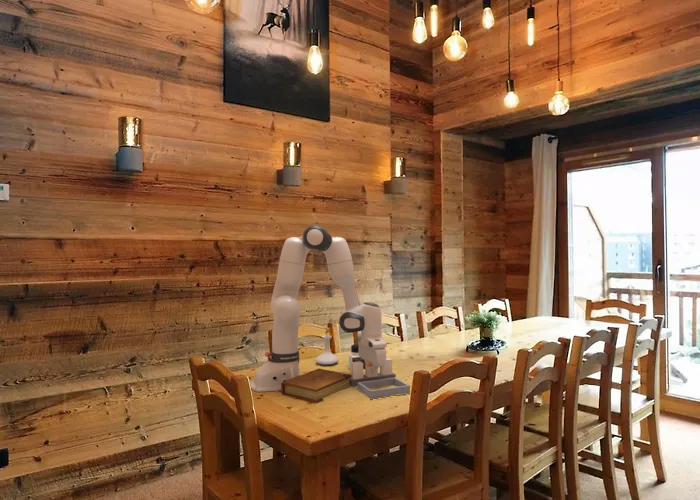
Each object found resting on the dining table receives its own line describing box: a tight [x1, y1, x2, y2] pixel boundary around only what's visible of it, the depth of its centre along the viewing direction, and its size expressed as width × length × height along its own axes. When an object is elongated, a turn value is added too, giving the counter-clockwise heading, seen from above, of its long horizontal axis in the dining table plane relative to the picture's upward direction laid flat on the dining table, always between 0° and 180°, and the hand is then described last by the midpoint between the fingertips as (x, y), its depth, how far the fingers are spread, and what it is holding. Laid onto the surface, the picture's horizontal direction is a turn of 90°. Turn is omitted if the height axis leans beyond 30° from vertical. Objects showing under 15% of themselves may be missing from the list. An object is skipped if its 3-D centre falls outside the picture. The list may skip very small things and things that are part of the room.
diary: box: [280, 368, 352, 404], centre depth 201 cm, size 23×19×6 cm
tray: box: [356, 377, 411, 401], centre depth 198 cm, size 18×13×4 cm
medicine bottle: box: [348, 343, 365, 371], centre depth 234 cm, size 7×7×12 cm
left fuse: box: [350, 361, 364, 379], centre depth 208 cm, size 4×3×9 cm, turn 112°
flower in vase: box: [315, 313, 339, 366], centre depth 245 cm, size 13×11×25 cm
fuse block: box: [349, 372, 397, 388], centre depth 211 cm, size 22×7×4 cm, turn 113°
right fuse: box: [379, 357, 393, 375], centre depth 213 cm, size 4×3×9 cm, turn 113°
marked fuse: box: [364, 361, 379, 377], centre depth 210 cm, size 4×3×9 cm, turn 114°
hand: (371, 372), depth 211 cm, fingers open, 5 cm apart
